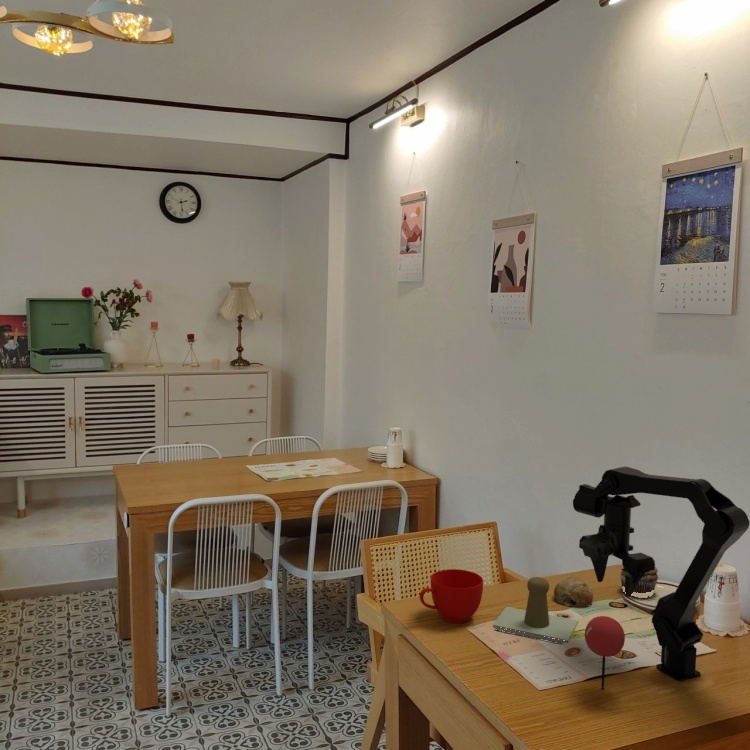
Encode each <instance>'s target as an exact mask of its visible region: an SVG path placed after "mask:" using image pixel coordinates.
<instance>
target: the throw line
mask: <svg viewBox="0 0 750 750" xmlns="http://www.w3.org/2000/svg"><path fill="white" fill-rule="evenodd" d="M495 629H497V630H501V631H502V630H503V631H505V632H510V633H515V634H519V635H524V636H528V637H527V638H529V637H532V638H531V639H533V638H536V639H535V640H538V639H543V640H548V641H552V642H557V643H563V644H564V642H563V640H558V639H552V638H548V637H544V636H539V635H534V634H529V633H524V632H519V631H515V630H510V629H507V630H506V629H505V628H500V627H494V630H495ZM504 629H505V630H504ZM505 632H504V633H505ZM510 633H509V634H510ZM519 635H518V636H519ZM524 636H523V637H524ZM543 640H542V641H543ZM548 641H547V642H548ZM552 642H551V643H552ZM557 643H556V644H557Z"/></svg>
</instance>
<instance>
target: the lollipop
mask: <svg viewBox="0 0 750 750" xmlns="http://www.w3.org/2000/svg"><path fill="white" fill-rule="evenodd" d="M584 640H585V644H586V646H587V647H588V649H589V650H590V652H593V654H595V655H597V656H600V657H602V659H601V661H602V662H601V664H602V665H601V688H600V689H601V690H605V671H606V670H605V669H606V658H611V657H614V656H616V655H618V654H620V652H621V651H622V650H623V648H624V645H625V642H626V641H625V640H626V634H625V630H624V629H623V626H622V625H621V623H619V622H618V621H617V619H615V618H612V617H609V616H606V615H605V616H604V615H600V616H599V615H598V616H596V617H593V618H592V619H591V620H589V621H588V623H587V624H586V627H585V630H584Z"/></svg>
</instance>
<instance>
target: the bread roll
mask: <svg viewBox="0 0 750 750" xmlns="http://www.w3.org/2000/svg"><path fill="white" fill-rule="evenodd" d="M553 590H554V591H553V597H554V598H555V600H557V602H558V603H560V604H561V605H564V606H565V607H572V608H573V607H575V608H586V607H585V606H587V607H589V605H590V606H591V605H592V604H593V600H594V599H593V598H594V592H593V589H592V587H591V586H590V585H589V584H588V583H587V582H586V581H585V580H584V579H583V578H580V577H578V576H570V577H567V578H566V579H562V580H560V581H558V582H557V583H556V584H555V586H554V589H553Z"/></svg>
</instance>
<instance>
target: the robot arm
mask: <svg viewBox="0 0 750 750" xmlns="http://www.w3.org/2000/svg"><path fill="white" fill-rule="evenodd" d="M578 486H579V487H578V491H576V493H575V494H574V498H573V500H572V506H573V510H574V512H577V513H580V514H583V515H587V516H591V517H593V518H597V519H599V518H601V517H603V524H600V525H599V527H598V531H597V533H595V534H587V535H582V536H581V537H580V539H579V544H578V546H579V547H578V548H579V549H582V552H583V554H584V555H583V556H585V557H588V558H589V559H590V560H591V561H590V562H591V564H592V567H593V569H594V574H595V576H596V580H597V582H598V583H602V582H603V581H604V578H605V574H606V571H607V565H608V560H609V557H610V556H613V557H615V558H618V559H620V560H622V561H621V565H622V567H624V568H621V571H623V572H624V574H625V592H626V594H625V597H627V598H628V597H631V594H632V593H633V591H634V589H635V588H636V586H637V584H638V583H639V581H640V580H641V578H642V577H643V576H644V574H645V573H646V572H650V571H652V570H654V568H655V567H656V561H655V559H654V558H653V557H652V556H650V555H648V554H645V553H643V552H636V553H629V552H631V551H633V550H634V545H632V544H630V540H631V539H630V535H631V534H634V533H635V527H632V526H631V520H632V519H631V516H632V509H633V508H637V507H640V506H642V505H641V502H640V501H639V500H638V499H637V498H636V497H635V495H634V494H648V495H649V494H650V495H656V496H657V495H658V496H663V497H664V496H665V497H671V498H682V499H688V501H689V503H691V504H692V507H693V509H694V511H695V514H696V516H697V517H698V519H699V520H700V521H701V522H702V523H703V528H702V532H701V536H702V537H701V538H702V540H701V544H700V545H699V548H698V550H697V552H696V554H694V557H693V559H692V560H691V562H690V565H689V566H688V567H687V569H686V571H685V573H684V575H683V577H682V578H681V581H680V582H679V584H678V586H677V588H676V590H675V591H673V592H671V593H668V594H667V595H664V596H662V597H659V598H658V600H657V603H656V606H655V608H654V609H653V610H652V611H651V614H653V615H652V617H651V624H652V625H653V628H654V630H655V634H656V637H657V642H658V645H659V646H661V651H660V653H661V654H660V663H658V664H656V665H655V666H656V668H657V669H659V670H660V671H661V672H663V673H665V674H667V675H668V676H670V677H671V678H672V679H675V680H676V681H683V680H688V679H691V678H695V677H699V676H701V675H702V674H701V673H702V672H701V671H699V670H697V669H696V668H697V652H698V651H697V647H695V645H696V644H699V643H701V641H702V639H703V637H704V634H703V632H702V630H701V629H700V627H699V626H698V624H696V621H695V620H694V619H695V616H696V612H697V609H696V607H697V606H696V604H697V602H698V600H699V598H700V596H701V595H702V593H703V591H704V589H705V587H706V586H707V584H708V582H709V581H710V579H711V577H712V575H713V573H714V572H715V570H716V568H717V567H718V565H719V563H720V561H721V559H723V556H724V554H726V553H725V552H727V550H728V549H730V548H731V547H732V546H733V545H734V544H735V543H736V542H737V541H739V540H740V539H741V537H742V536H743V535H744V534H745V533H746V532H747V531H748V530H749V527H750V519H749V517H748V515H747V513H746V512H745V510H743V509H742V508H740V507H738V506H737V505H736V504H735V503H734V502H733V501H732V500H731V499H730V498H729V497H727V496H726V495H725V494H723V493H722V492H720V491H719V490H717V489H716V488H715V487H714V486H713V485H712V483H711V482H710V481H708V480H706V479H704V478H696V479H695V478H686V477H677V476H666V475H657V474H656V475H655V474H648V473H645V472H643V471H641V470H640V469H637V468H633V467H630V466H620V467H616V468H612V469H611V468H610V469H607V470H605V472H603V474H602V477H601V481H599V483H598V484H597V485H596V487H594V486H592V485H589V484H586V483H584V484H579V485H578ZM631 494H632V495H631ZM624 495H628V496H624Z"/></svg>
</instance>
